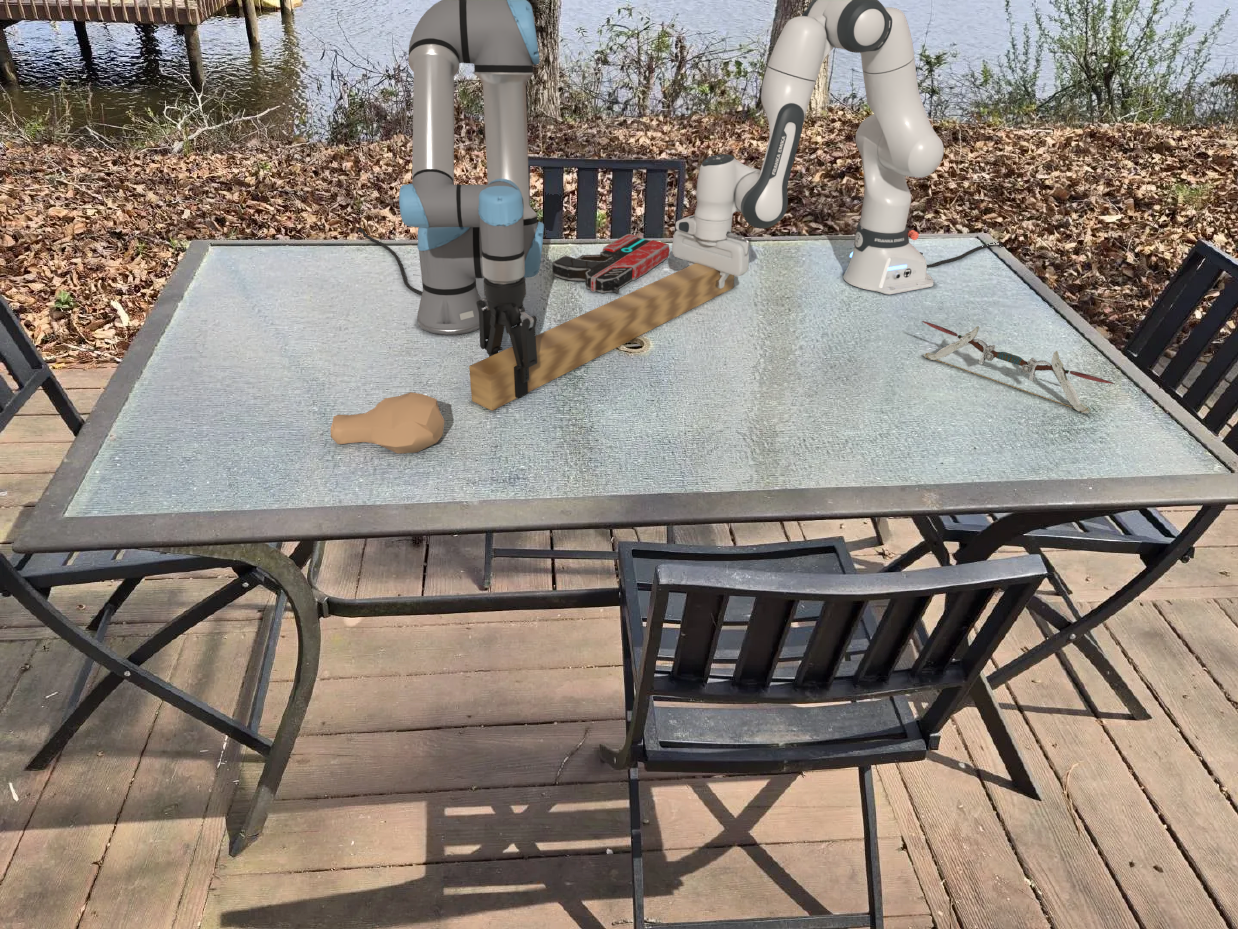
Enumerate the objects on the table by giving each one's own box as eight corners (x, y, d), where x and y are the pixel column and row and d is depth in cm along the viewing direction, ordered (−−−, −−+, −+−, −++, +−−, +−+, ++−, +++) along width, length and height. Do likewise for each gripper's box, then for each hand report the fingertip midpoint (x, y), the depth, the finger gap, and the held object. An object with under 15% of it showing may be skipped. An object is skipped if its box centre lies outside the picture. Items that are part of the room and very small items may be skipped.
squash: (445, 460, 150) (431, 421, 144) (332, 469, 152) (314, 430, 146) (454, 419, 158) (441, 380, 152) (346, 428, 160) (330, 389, 154)
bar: (491, 411, 165) (489, 375, 160) (471, 401, 168) (468, 365, 163) (733, 288, 217) (736, 258, 213) (714, 282, 220) (717, 252, 216)
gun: (545, 262, 216) (612, 281, 208) (611, 226, 238) (673, 242, 230) (545, 280, 218) (612, 299, 211) (610, 242, 240) (672, 258, 233)
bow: (1102, 416, 168) (1120, 369, 163) (1099, 419, 167) (1116, 372, 162) (916, 351, 190) (927, 308, 184) (912, 354, 189) (923, 311, 183)
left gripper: (556, 284, 155) (558, 398, 168) (484, 258, 165) (491, 368, 178) (526, 296, 150) (530, 413, 163) (453, 269, 160) (463, 381, 173)
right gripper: (757, 234, 202) (750, 291, 209) (685, 214, 212) (682, 269, 220) (742, 241, 198) (736, 298, 205) (670, 220, 208) (666, 276, 216)
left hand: (510, 389), depth 171 cm, fingers closed on bar, 6 cm apart
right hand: (707, 283), depth 213 cm, fingers closed on bar, 5 cm apart
